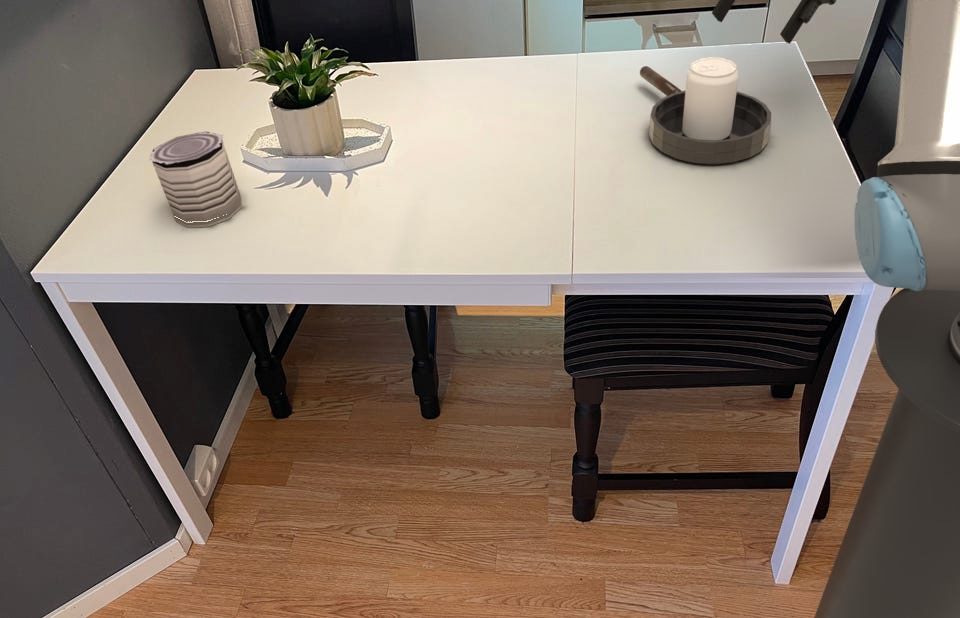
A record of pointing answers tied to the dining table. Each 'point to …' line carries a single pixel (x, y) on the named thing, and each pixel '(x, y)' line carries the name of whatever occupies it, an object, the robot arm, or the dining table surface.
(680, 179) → the dining table surface
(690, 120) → the beverage can
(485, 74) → the dining table surface
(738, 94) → the pan
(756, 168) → the dining table surface
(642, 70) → the pan handle
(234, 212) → the can
